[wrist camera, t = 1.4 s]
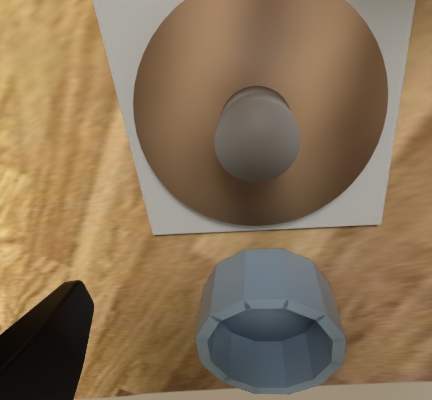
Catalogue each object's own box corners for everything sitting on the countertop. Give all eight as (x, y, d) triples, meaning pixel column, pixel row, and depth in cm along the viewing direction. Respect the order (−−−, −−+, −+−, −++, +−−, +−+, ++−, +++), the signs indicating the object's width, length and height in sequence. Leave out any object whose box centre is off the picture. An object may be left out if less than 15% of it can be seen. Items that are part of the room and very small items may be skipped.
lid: (400, -49, 15) (454, -73, 11) (367, 212, 21) (393, 255, 18) (110, -4, 17) (67, -11, 13) (163, 222, 23) (146, 264, 19)
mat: (423, -78, 14) (428, -81, 14) (379, 221, 22) (381, 224, 22) (89, -24, 17) (86, -25, 16) (154, 231, 24) (153, 234, 24)
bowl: (332, 246, 23) (350, 298, 19) (325, 337, 28) (339, 395, 24) (197, 251, 25) (186, 300, 20) (213, 337, 30) (206, 392, 25)
